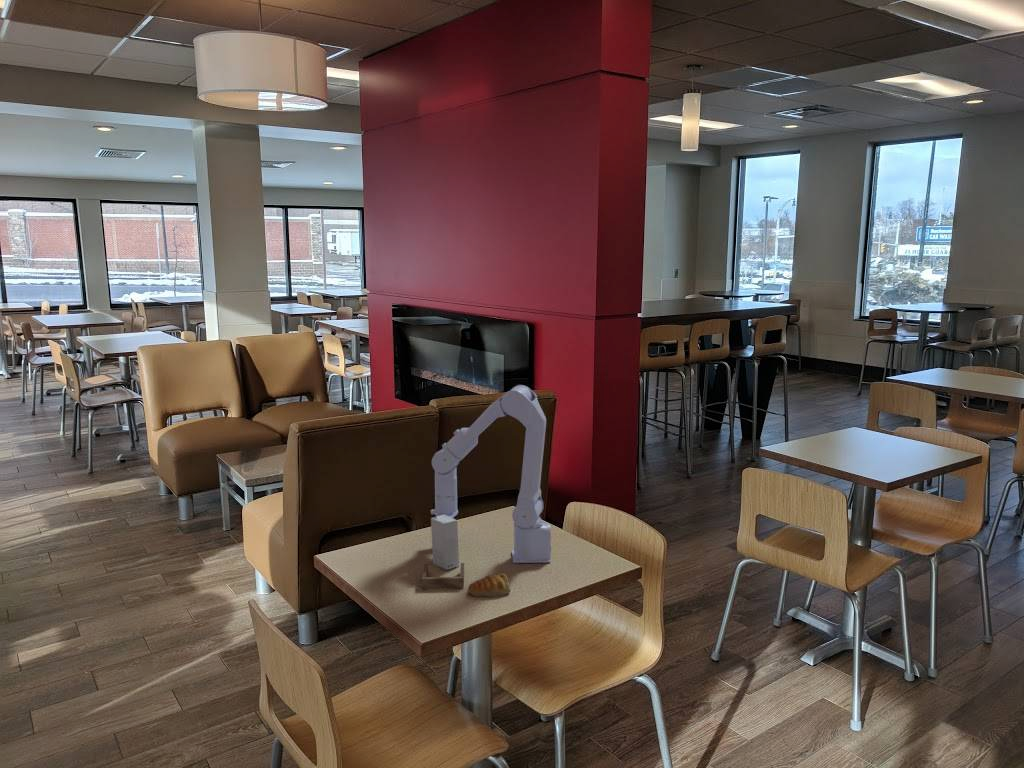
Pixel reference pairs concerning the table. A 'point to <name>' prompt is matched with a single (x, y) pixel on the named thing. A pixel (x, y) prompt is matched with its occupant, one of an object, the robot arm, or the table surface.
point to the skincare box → (445, 542)
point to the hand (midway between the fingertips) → (446, 544)
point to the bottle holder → (442, 580)
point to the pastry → (490, 586)
